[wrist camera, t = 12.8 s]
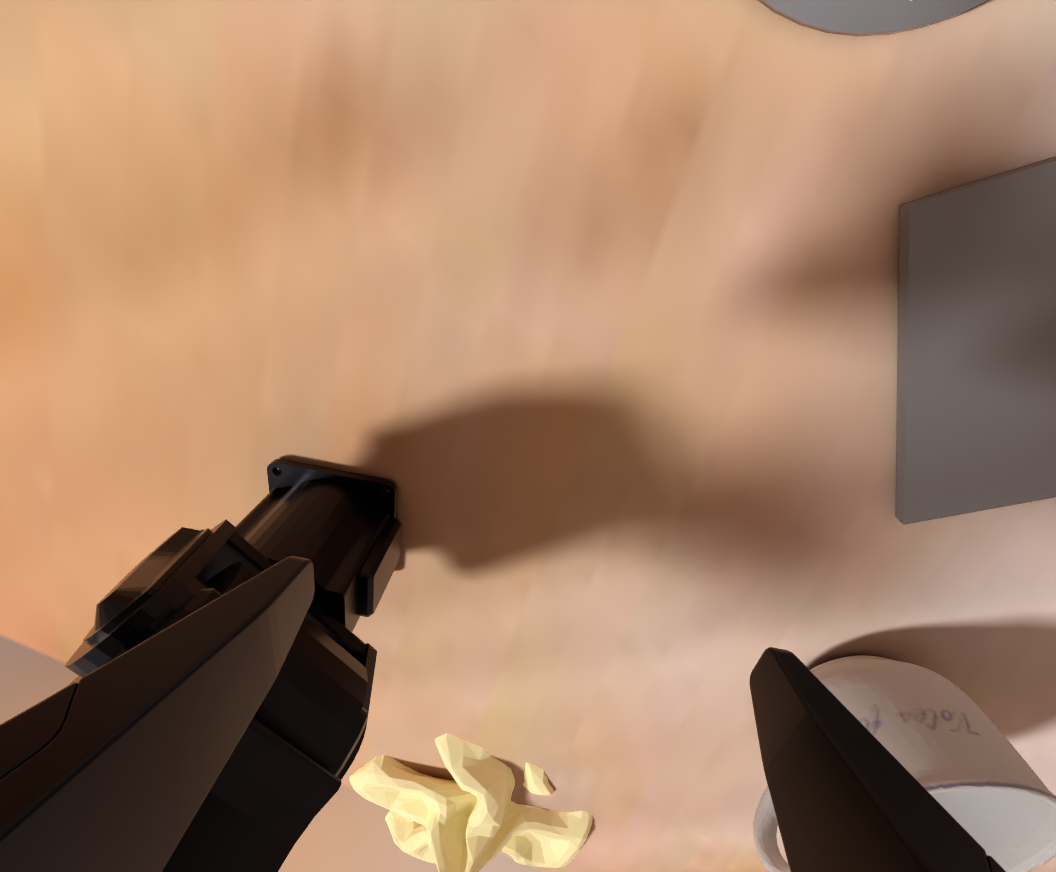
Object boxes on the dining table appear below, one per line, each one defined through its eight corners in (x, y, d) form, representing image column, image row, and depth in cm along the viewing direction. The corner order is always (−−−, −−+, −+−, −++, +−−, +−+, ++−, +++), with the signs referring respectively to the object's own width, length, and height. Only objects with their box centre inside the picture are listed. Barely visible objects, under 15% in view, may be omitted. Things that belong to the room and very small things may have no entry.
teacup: (911, 599, 25) (1047, 763, 18) (978, 710, 28) (1115, 885, 21) (675, 689, 30) (707, 846, 22) (757, 774, 33) (807, 934, 26)
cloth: (617, 850, 41) (623, 952, 35) (424, 861, 45) (403, 954, 39) (534, 685, 31) (526, 789, 26) (301, 719, 36) (252, 814, 30)
